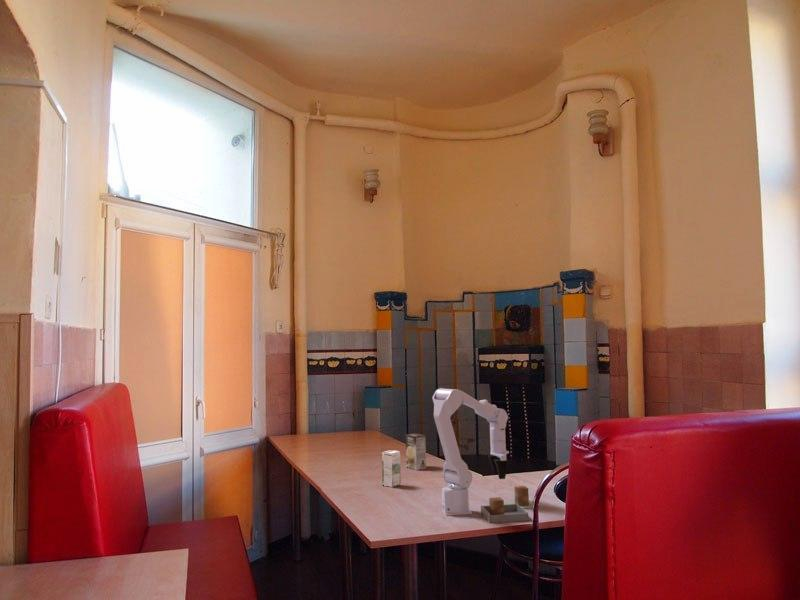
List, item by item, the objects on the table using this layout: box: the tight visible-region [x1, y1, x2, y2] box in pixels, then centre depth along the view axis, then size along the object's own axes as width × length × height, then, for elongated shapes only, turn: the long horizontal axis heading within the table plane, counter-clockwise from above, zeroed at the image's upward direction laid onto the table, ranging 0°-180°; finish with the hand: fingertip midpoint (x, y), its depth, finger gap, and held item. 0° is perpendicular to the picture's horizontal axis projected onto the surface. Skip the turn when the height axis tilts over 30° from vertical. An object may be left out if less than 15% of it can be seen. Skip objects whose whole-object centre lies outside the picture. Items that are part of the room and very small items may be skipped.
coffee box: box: [404, 433, 427, 471], centre depth 286 cm, size 9×6×16 cm
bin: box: [480, 503, 529, 524], centre depth 202 cm, size 13×12×2 cm
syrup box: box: [381, 449, 402, 488], centre depth 252 cm, size 6×6×14 cm
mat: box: [505, 499, 534, 510], centre depth 215 cm, size 9×9×1 cm
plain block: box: [488, 496, 505, 515], centre depth 202 cm, size 4×4×6 cm
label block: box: [514, 485, 530, 506], centre depth 215 cm, size 4×4×6 cm
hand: (499, 476), depth 222 cm, fingers open, 7 cm apart
